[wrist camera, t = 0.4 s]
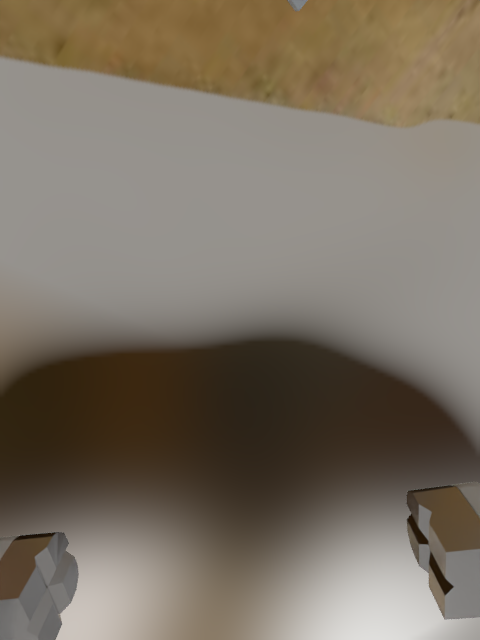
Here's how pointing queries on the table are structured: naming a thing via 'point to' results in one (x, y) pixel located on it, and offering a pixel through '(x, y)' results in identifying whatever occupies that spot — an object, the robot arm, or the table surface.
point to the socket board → (297, 4)
